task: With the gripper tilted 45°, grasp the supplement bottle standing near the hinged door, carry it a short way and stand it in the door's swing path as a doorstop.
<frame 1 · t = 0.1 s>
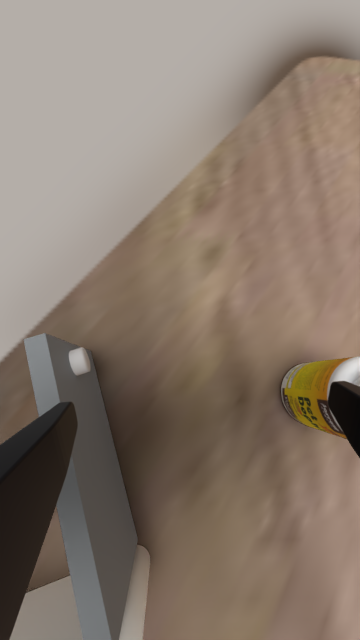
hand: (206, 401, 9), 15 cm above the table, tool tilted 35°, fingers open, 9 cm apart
door: (90, 455, 18), point 5 cm above the table, hinge at 90.0°
supplement bottle: (307, 393, 24), on the table
door frame: (136, 561, 20), on the table
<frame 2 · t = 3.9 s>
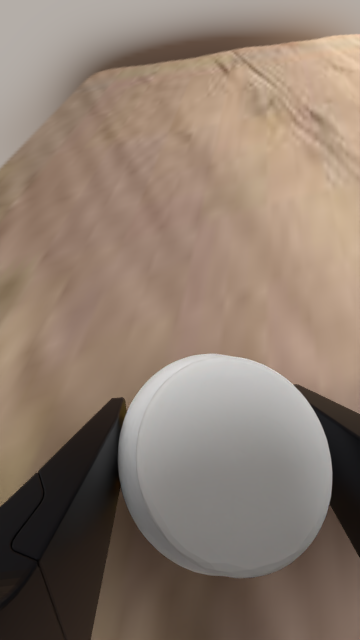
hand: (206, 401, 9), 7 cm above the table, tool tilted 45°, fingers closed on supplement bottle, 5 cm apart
supplement bottle: (193, 445, 15), on the table, touching gripper
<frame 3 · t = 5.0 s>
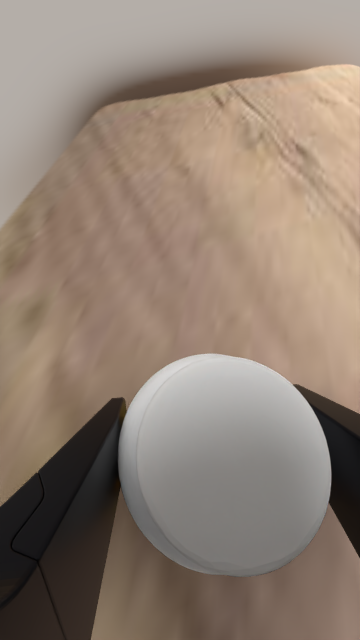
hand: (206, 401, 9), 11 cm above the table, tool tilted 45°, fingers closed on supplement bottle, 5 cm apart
supplement bottle: (193, 444, 15), point 4 cm above the table, touching gripper
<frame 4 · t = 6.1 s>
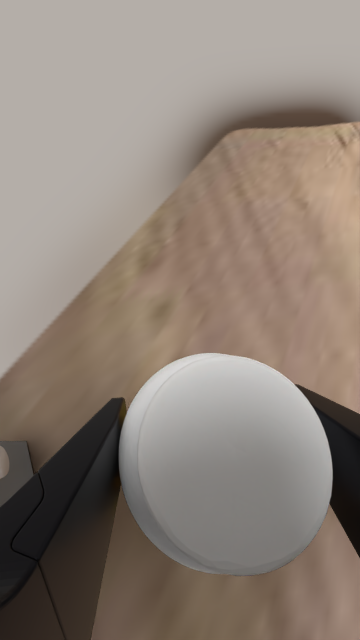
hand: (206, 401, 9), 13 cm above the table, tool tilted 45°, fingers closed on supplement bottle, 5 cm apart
door: (1, 602, 13), point 5 cm above the table, hinge at 90.0°
supplement bottle: (193, 444, 15), point 6 cm above the table, touching gripper
when the fingers open (8 cm above the table, at t = 8.4 s): supplement bottle drops 1 cm, on the table.
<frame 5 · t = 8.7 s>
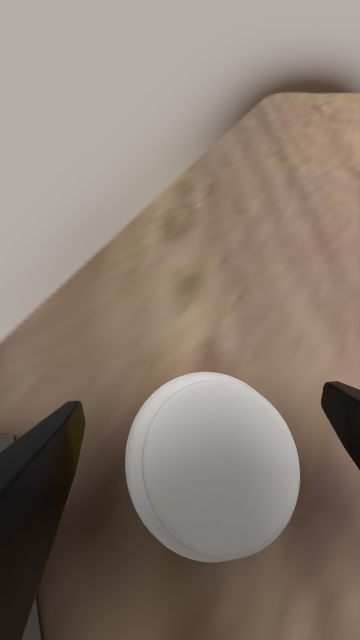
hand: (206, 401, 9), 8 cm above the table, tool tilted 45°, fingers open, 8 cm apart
supplement bottle: (191, 449, 16), on the table
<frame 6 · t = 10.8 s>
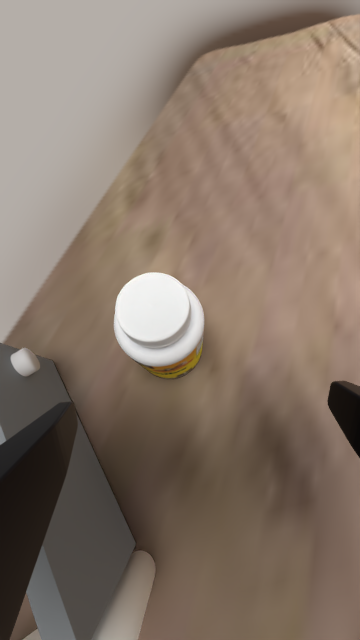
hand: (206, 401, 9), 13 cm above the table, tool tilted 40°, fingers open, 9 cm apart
door: (52, 455, 17), point 5 cm above the table, hinge at 90.0°
supplement bottle: (171, 348, 23), on the table
door frame: (140, 569, 18), on the table
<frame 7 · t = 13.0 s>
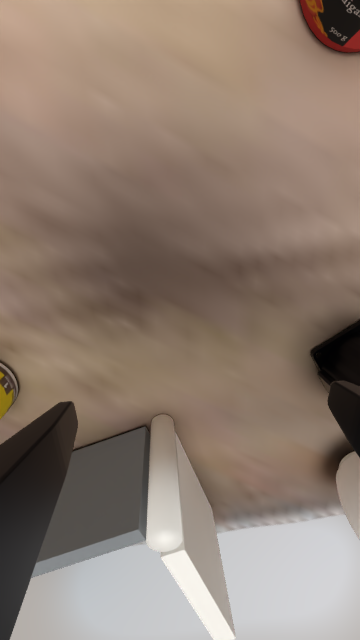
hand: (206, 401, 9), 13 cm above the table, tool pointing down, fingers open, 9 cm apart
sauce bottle: (350, 457, 29), on the table
door: (56, 502, 21), point 5 cm above the table, hinge at 90.0°
door frame: (162, 423, 25), on the table
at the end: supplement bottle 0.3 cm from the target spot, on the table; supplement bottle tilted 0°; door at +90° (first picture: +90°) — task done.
